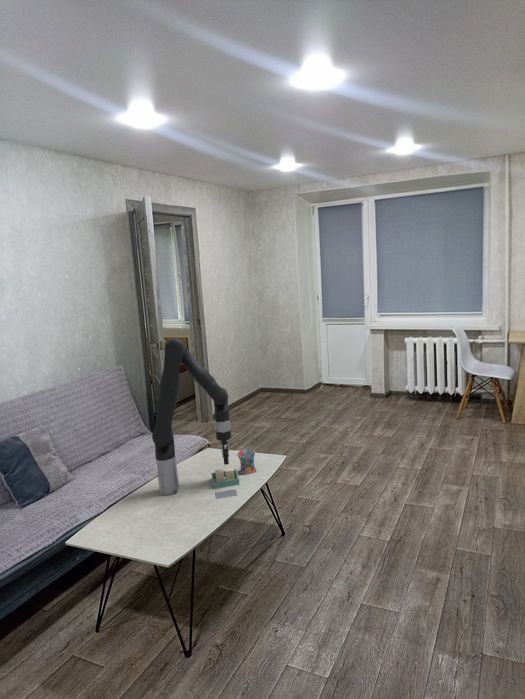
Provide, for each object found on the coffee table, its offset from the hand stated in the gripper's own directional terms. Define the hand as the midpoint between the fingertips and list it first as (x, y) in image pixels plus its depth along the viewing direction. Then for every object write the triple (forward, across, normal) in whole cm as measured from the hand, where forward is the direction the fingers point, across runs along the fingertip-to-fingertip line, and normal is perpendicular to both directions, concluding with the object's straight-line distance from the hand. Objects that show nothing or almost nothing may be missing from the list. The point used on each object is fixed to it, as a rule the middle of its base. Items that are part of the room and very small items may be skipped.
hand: (225, 461), depth 246 cm
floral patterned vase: (+11, -10, +12) cm, 19 cm away
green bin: (+11, 0, -1) cm, 11 cm away
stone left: (+11, 0, -3) cm, 11 cm away
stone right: (+11, 0, +2) cm, 11 cm away
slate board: (+11, +15, -2) cm, 18 cm away
